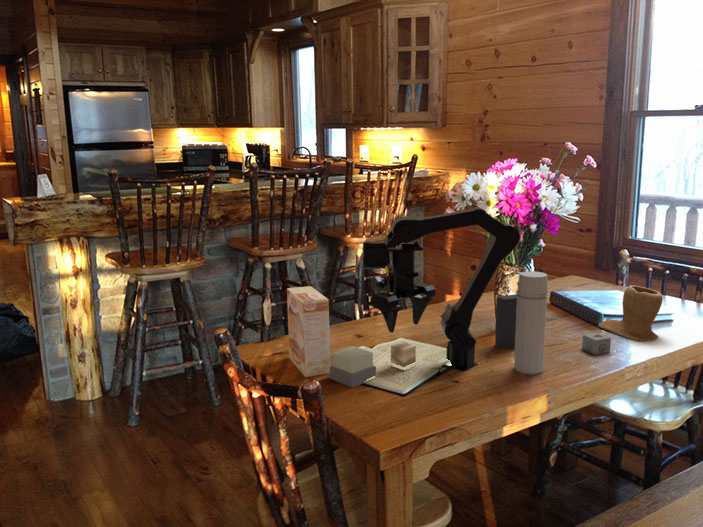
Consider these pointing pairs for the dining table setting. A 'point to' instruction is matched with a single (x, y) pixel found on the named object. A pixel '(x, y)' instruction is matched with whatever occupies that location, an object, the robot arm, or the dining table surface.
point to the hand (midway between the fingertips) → (403, 328)
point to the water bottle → (530, 322)
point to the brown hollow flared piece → (636, 314)
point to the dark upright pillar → (506, 321)
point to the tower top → (352, 359)
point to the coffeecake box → (308, 330)
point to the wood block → (403, 354)
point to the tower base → (352, 376)
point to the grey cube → (596, 343)
